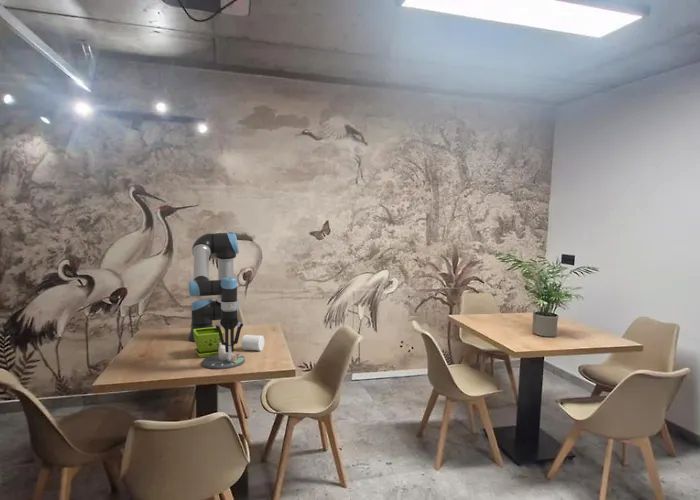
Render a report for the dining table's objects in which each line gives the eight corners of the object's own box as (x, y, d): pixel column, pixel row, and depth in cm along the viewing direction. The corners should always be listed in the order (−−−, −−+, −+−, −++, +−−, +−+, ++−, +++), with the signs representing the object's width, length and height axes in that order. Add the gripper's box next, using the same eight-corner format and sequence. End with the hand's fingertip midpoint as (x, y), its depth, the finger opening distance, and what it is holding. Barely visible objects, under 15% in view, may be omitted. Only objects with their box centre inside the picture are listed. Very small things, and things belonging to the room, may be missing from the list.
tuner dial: (196, 361, 218) (195, 358, 218) (233, 353, 231) (233, 350, 231) (213, 372, 203) (213, 368, 203) (252, 363, 216) (252, 359, 216)
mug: (258, 352, 234) (258, 337, 233) (241, 351, 236) (241, 336, 235) (267, 346, 246) (267, 332, 245) (250, 345, 248) (250, 331, 247)
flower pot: (196, 359, 222) (196, 335, 221) (192, 352, 234) (192, 329, 233) (225, 356, 228) (224, 331, 227) (219, 349, 240) (219, 326, 240)
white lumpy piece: (216, 359, 217) (216, 342, 216) (225, 356, 221) (224, 340, 220) (231, 364, 210) (231, 346, 209) (239, 361, 213) (239, 344, 213)
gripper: (216, 312, 204) (216, 362, 205) (244, 310, 209) (244, 359, 211) (214, 309, 211) (214, 358, 212) (241, 307, 216) (241, 355, 217)
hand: (229, 358), depth 211 cm, fingers closed
